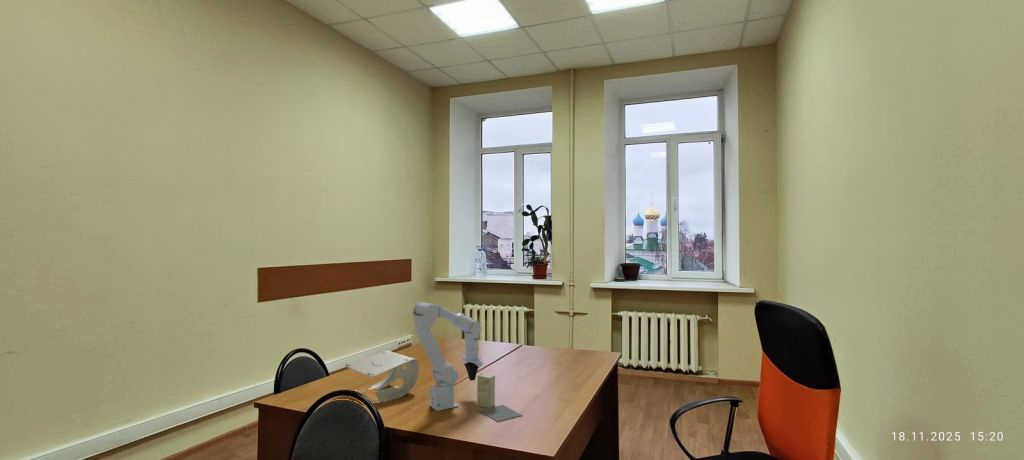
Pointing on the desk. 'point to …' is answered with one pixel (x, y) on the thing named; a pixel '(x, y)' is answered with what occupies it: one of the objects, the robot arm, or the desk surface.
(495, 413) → the mat
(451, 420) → the desk surface
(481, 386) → the skincare box
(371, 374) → the portable electronic device stand
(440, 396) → the robot arm
